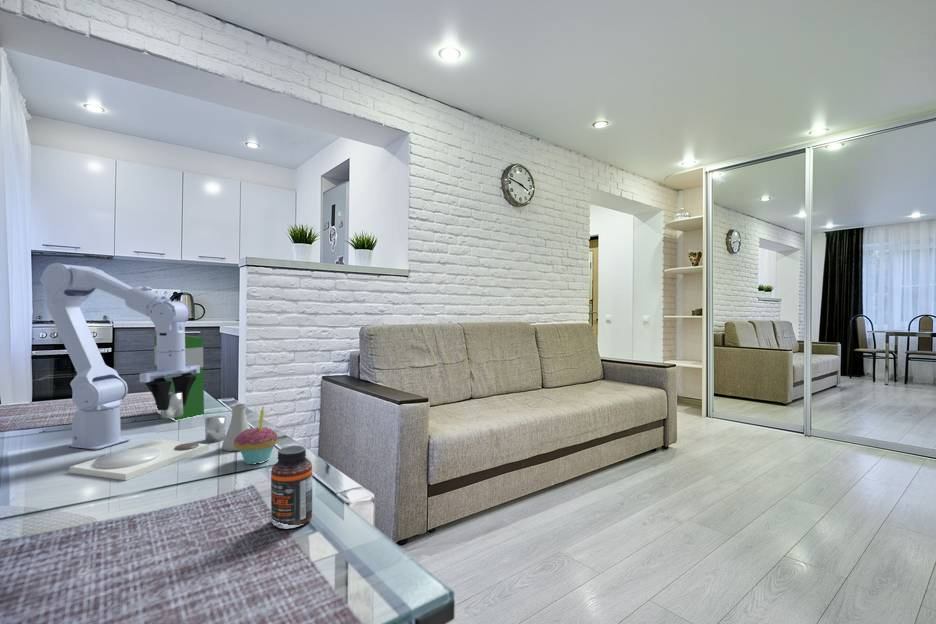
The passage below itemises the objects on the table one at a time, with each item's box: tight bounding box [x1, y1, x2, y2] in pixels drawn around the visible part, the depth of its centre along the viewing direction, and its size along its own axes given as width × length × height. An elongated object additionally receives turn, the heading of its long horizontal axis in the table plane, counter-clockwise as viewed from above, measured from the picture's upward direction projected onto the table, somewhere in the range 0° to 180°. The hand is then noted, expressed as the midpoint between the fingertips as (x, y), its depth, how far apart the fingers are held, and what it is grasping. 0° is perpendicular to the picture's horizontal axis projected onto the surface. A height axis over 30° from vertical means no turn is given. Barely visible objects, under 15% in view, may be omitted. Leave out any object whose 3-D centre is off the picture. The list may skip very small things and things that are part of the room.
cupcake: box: [234, 406, 279, 465], centre depth 96 cm, size 9×8×12 cm
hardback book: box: [153, 334, 205, 420], centre depth 138 cm, size 18×7×24 cm, turn 51°
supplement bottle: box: [270, 445, 313, 525], centre depth 69 cm, size 6×6×11 cm
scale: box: [69, 438, 209, 481], centre depth 97 cm, size 15×19×2 cm
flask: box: [220, 403, 251, 452], centre depth 106 cm, size 7×7×10 cm
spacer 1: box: [160, 391, 183, 419], centre depth 108 cm, size 4×4×6 cm
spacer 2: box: [204, 415, 227, 444], centre depth 112 cm, size 4×4×6 cm
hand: (172, 407), depth 108 cm, fingers closed on spacer 1, 4 cm apart
